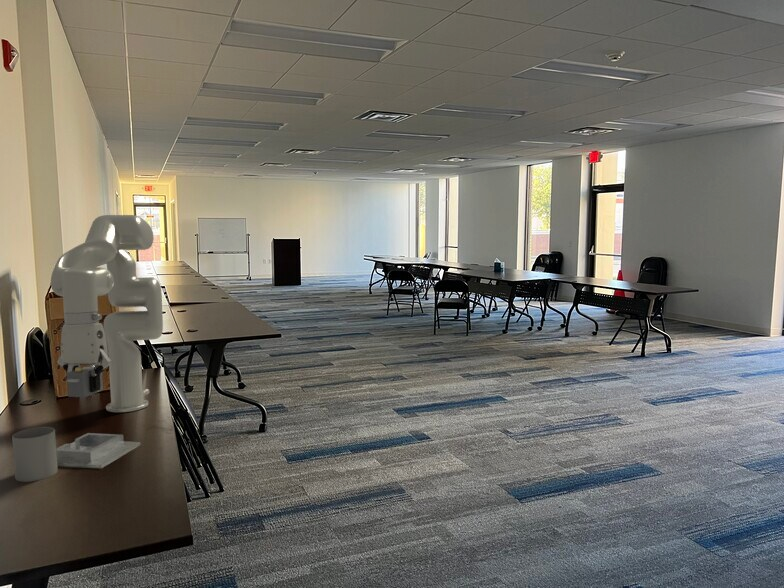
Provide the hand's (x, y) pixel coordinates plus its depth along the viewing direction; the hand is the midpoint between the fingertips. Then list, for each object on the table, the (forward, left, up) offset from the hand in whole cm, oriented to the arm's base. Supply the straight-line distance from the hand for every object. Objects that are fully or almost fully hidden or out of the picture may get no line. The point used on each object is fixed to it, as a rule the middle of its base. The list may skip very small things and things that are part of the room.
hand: (85, 389), depth 144 cm
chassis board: (0, 0, -17) cm, 17 cm away
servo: (0, 0, -1) cm, 1 cm away
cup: (+13, -4, -17) cm, 22 cm away
